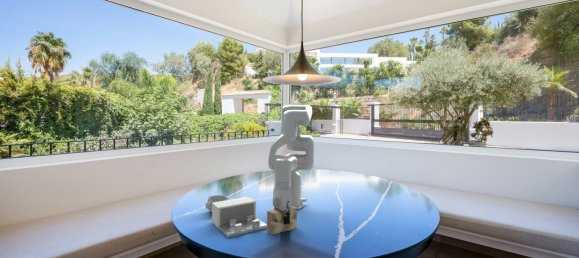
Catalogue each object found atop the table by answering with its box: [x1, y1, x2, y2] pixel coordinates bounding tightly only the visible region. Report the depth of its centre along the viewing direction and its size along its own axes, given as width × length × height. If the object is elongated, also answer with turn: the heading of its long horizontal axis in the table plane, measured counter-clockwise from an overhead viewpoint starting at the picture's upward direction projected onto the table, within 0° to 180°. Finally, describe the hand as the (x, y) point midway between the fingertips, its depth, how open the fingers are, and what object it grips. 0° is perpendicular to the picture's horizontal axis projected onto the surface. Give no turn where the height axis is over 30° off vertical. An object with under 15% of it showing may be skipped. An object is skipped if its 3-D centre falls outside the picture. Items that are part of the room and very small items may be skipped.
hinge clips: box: [217, 215, 267, 239], centre depth 136 cm, size 20×12×4 cm, turn 124°
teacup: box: [205, 194, 229, 213], centre depth 157 cm, size 14×11×8 cm
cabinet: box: [211, 196, 257, 229], centre depth 145 cm, size 20×9×10 cm, turn 124°
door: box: [266, 206, 298, 236], centre depth 134 cm, size 14×5×10 cm, turn 124°
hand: (282, 221), depth 135 cm, fingers open, 7 cm apart
